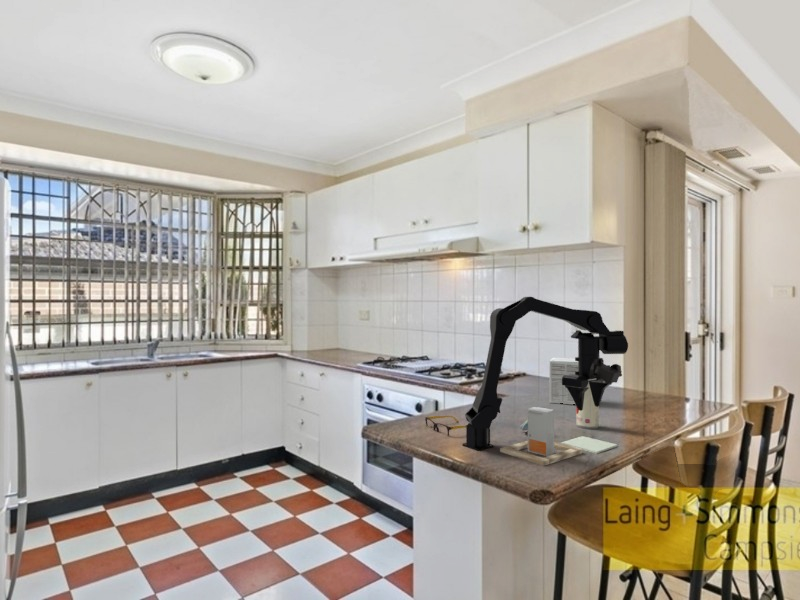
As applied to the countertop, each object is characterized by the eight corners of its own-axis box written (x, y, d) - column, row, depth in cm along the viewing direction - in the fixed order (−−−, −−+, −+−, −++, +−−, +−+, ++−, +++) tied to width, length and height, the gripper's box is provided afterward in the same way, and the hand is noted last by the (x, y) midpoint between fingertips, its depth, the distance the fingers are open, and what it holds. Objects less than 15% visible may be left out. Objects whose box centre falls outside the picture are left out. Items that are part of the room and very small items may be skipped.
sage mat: (596, 453, 129) (596, 451, 129) (561, 444, 138) (561, 442, 138) (617, 446, 136) (617, 444, 136) (582, 437, 145) (582, 436, 145)
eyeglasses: (422, 428, 156) (422, 416, 156) (459, 423, 163) (459, 412, 163) (446, 440, 144) (446, 426, 144) (485, 433, 151) (485, 421, 151)
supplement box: (583, 405, 190) (583, 362, 191) (549, 403, 195) (549, 360, 196) (583, 399, 203) (583, 358, 203) (551, 397, 208) (551, 357, 208)
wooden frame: (543, 466, 119) (543, 461, 119) (500, 452, 130) (500, 448, 130) (582, 453, 130) (582, 448, 130) (539, 441, 141) (539, 437, 141)
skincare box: (527, 452, 130) (526, 408, 130) (534, 448, 133) (534, 406, 133) (547, 457, 126) (547, 412, 126) (555, 453, 129) (554, 409, 129)
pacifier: (536, 427, 153) (542, 415, 149) (545, 443, 148) (551, 432, 145) (516, 429, 151) (521, 417, 147) (523, 446, 146) (530, 434, 143)
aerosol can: (576, 423, 162) (576, 364, 163) (598, 425, 160) (598, 365, 160) (576, 427, 156) (576, 367, 156) (598, 430, 154) (598, 368, 154)
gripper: (597, 359, 125) (597, 418, 125) (632, 354, 136) (632, 409, 136) (560, 355, 134) (560, 410, 134) (596, 351, 145) (596, 402, 145)
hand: (588, 408), depth 137 cm, fingers open, 8 cm apart
